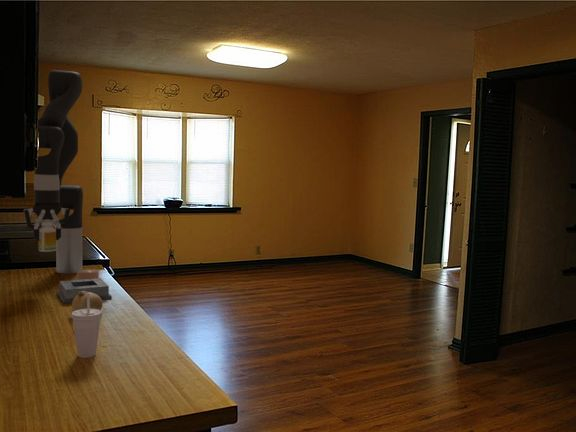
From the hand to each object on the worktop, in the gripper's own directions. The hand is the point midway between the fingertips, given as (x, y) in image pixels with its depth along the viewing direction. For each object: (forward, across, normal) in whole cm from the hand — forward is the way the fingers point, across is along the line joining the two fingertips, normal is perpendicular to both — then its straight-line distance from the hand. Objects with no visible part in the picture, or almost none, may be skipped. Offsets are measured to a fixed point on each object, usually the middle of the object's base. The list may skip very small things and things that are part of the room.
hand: (47, 239), depth 172 cm
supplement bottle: (+4, 0, 0) cm, 4 cm away
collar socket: (+16, -9, +14) cm, 23 cm away
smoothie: (+16, 0, +68) cm, 69 cm away
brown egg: (+17, -13, -2) cm, 21 cm away
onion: (+16, -6, +36) cm, 40 cm away
